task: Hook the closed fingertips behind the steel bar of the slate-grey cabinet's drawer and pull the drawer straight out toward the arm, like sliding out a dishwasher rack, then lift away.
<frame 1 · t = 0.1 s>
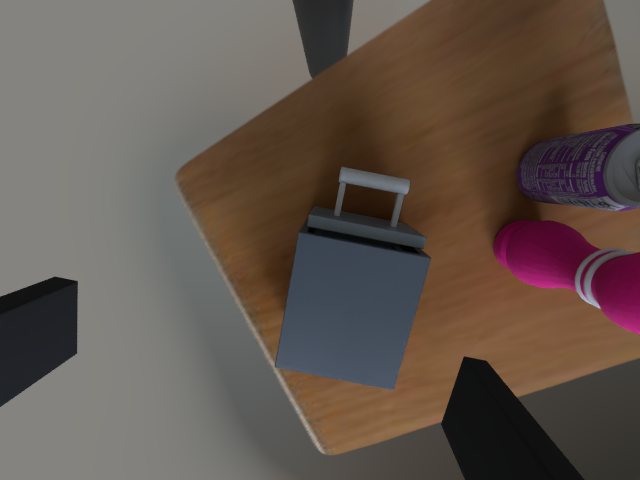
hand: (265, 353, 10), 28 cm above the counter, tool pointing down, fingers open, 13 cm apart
pepper mill: (518, 244, 37), on the counter
cabinet: (344, 281, 39), on the counter
drawer: (355, 257, 33), point 5 cm above the counter, slide at 0.5 cm
beverage can: (544, 171, 35), on the counter
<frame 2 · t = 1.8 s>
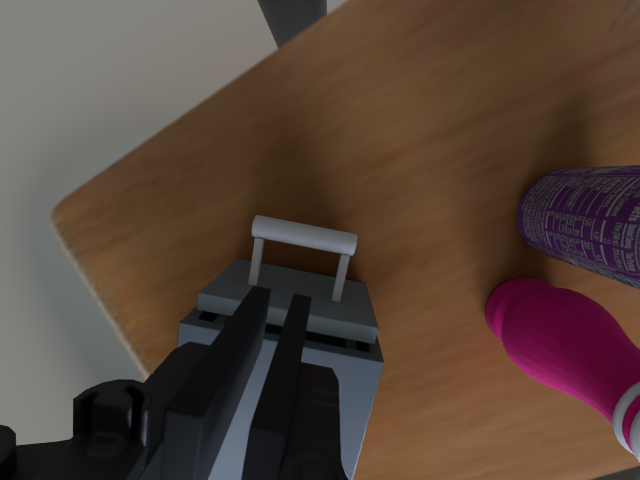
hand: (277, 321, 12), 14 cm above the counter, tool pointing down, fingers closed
pepper mill: (518, 309, 27), on the counter
cabinet: (286, 354, 29), on the counter
drawer: (286, 337, 23), point 5 cm above the counter, slide at 0.5 cm
beverage can: (554, 212, 25), on the counter
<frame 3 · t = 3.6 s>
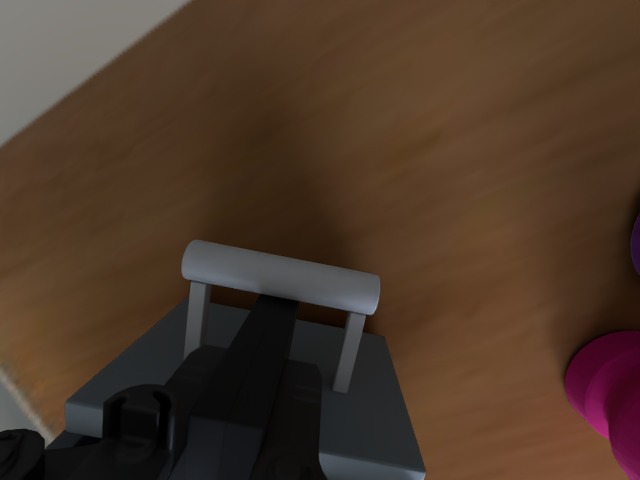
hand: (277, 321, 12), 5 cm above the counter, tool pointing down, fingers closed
pepper mill: (616, 375, 18), on the counter
cabinet: (265, 434, 20), on the counter
drawer: (257, 438, 14), point 5 cm above the counter, slide at 0.7 cm, touching gripper
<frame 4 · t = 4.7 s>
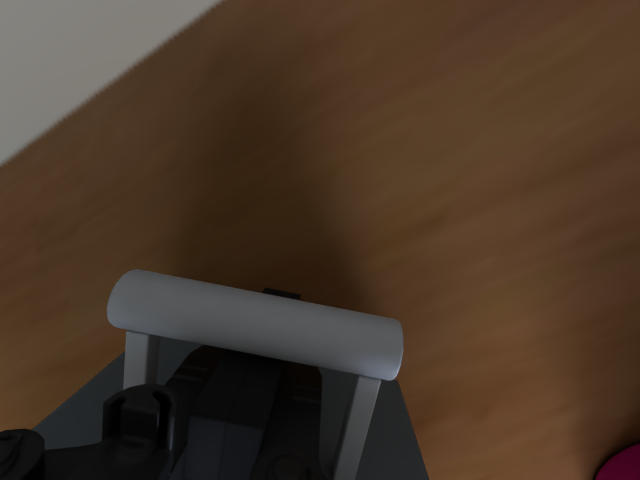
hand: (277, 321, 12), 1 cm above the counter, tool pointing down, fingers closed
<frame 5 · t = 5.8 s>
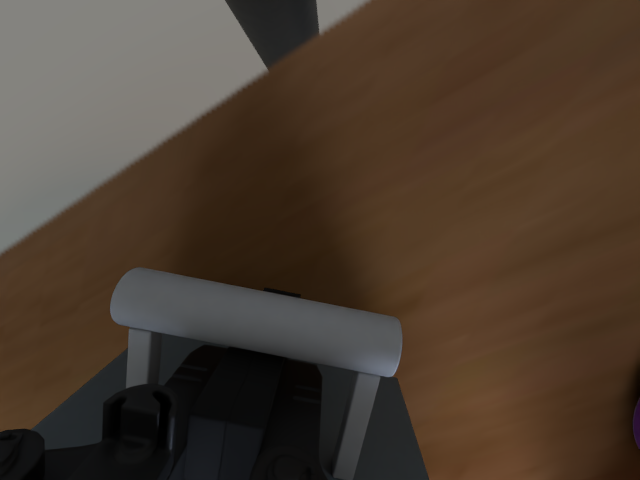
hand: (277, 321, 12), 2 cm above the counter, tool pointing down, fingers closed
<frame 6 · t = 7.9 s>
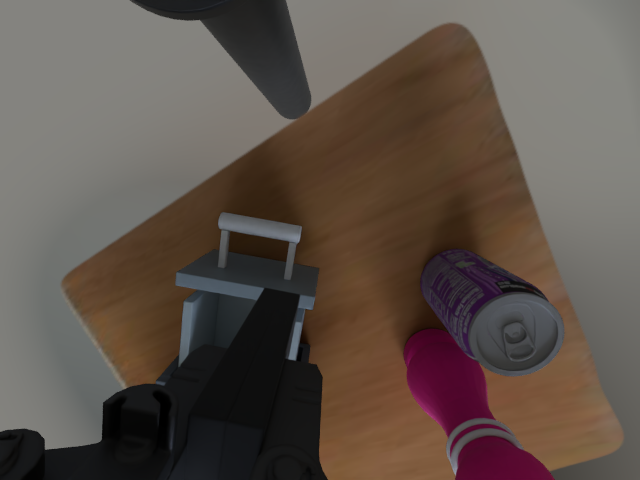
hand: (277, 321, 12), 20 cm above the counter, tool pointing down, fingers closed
pepper mill: (430, 352, 34), on the counter
cabinet: (249, 388, 36), on the counter
drawer: (251, 311, 29), point 5 cm above the counter, slide at 8.4 cm
beverage can: (451, 278, 32), on the counter
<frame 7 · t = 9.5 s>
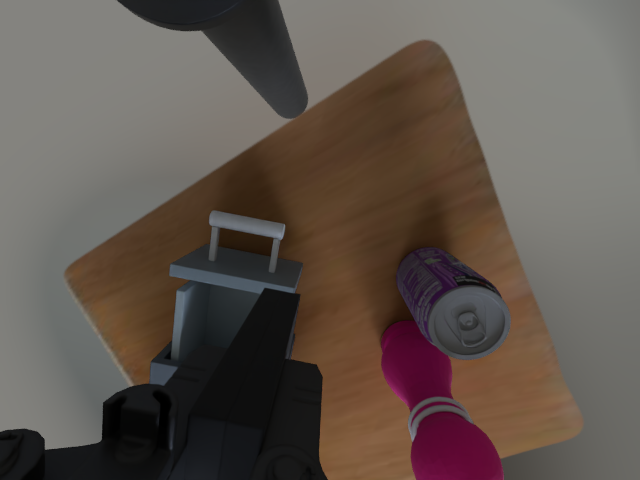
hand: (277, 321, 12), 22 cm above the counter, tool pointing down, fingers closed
pepper mill: (406, 342, 37), on the counter
cabinet: (238, 374, 39), on the counter
drawer: (239, 301, 31), point 5 cm above the counter, slide at 8.4 cm
beverage can: (425, 274, 35), on the counter
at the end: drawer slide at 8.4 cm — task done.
